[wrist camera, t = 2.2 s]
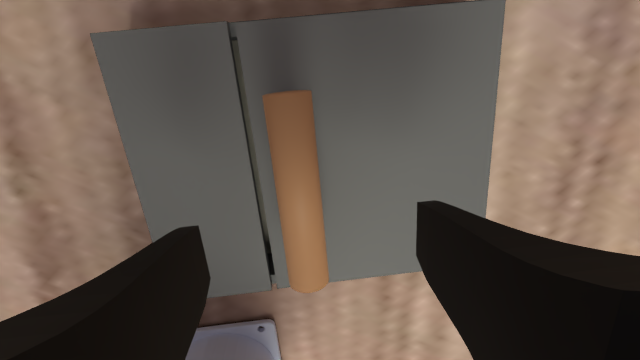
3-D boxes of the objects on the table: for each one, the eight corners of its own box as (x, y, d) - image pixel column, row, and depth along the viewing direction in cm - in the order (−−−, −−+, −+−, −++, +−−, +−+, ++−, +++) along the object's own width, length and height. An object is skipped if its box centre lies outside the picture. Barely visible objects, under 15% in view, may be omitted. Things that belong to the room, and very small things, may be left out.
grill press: (277, 282, 20) (273, 348, 15) (236, 24, 15) (212, 9, 10) (475, 258, 20) (528, 315, 16) (497, 0, 15) (582, -23, 11)
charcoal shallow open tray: (189, 265, 22) (170, 302, 19) (129, 38, 17) (89, 33, 14) (453, 234, 23) (481, 264, 20) (466, 7, 18) (506, -4, 15)
